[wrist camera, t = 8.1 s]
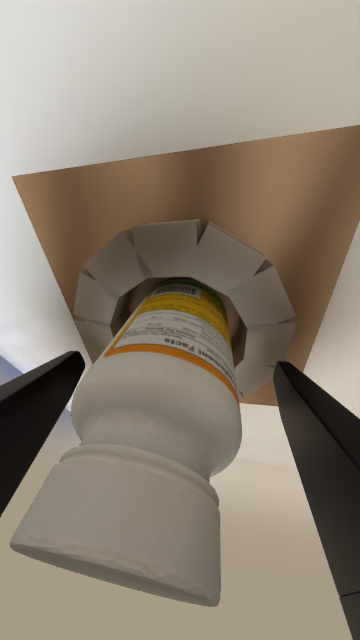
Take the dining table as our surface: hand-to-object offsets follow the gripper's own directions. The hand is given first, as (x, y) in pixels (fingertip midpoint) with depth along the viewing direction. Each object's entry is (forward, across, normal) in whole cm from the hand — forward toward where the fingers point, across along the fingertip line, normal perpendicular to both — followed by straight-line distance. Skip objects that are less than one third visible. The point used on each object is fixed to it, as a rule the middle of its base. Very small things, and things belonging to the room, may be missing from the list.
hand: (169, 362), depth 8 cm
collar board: (+5, 0, 0) cm, 5 cm away
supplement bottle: (+4, 0, 0) cm, 4 cm away
